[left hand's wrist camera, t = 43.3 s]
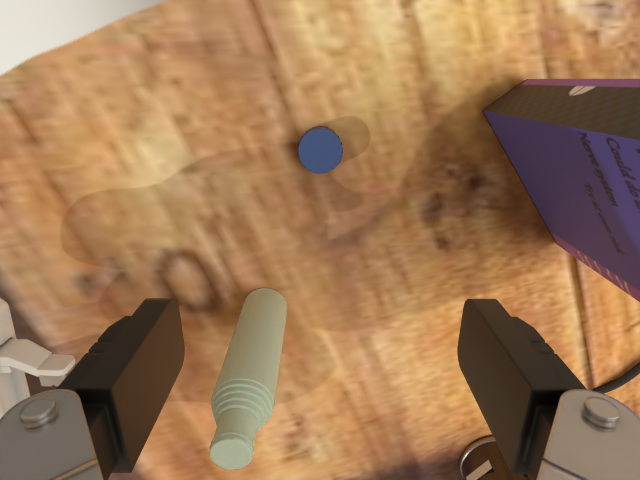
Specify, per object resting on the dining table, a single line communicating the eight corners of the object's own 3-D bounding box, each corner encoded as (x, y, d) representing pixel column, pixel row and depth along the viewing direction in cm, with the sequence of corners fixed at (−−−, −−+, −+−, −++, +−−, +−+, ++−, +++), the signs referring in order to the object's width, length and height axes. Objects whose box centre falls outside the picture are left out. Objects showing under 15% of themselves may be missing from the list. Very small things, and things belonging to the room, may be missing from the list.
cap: (343, 127, 40) (344, 130, 38) (339, 170, 42) (341, 175, 40) (300, 124, 40) (299, 127, 38) (298, 167, 42) (297, 172, 40)
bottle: (280, 330, 49) (255, 487, 30) (238, 318, 48) (187, 471, 30) (293, 295, 47) (275, 438, 28) (250, 282, 47) (203, 420, 28)
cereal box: (598, 219, 44) (889, 367, 21) (556, 244, 45) (793, 409, 22) (527, 79, 38) (814, 78, 16) (482, 110, 39) (693, 150, 17)
